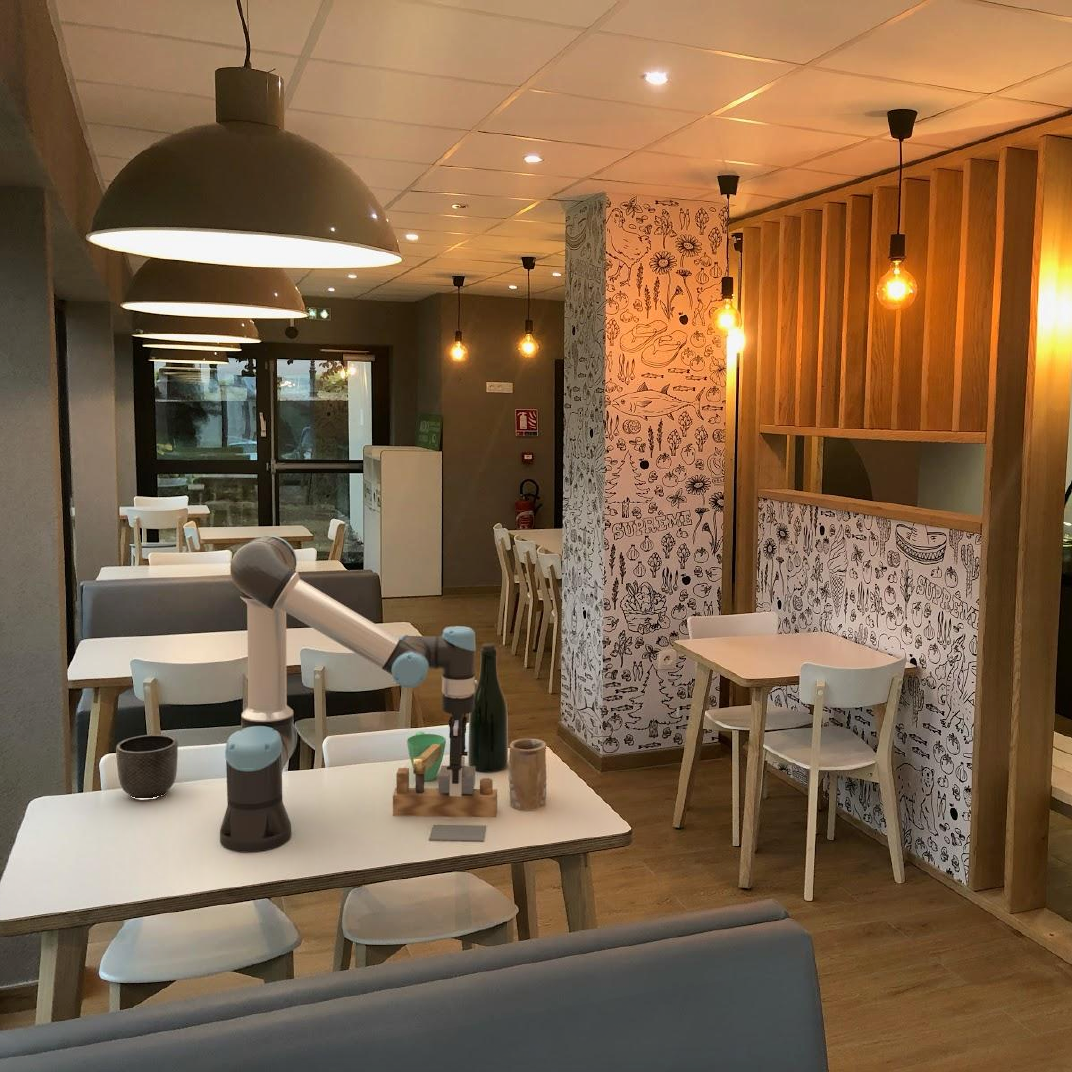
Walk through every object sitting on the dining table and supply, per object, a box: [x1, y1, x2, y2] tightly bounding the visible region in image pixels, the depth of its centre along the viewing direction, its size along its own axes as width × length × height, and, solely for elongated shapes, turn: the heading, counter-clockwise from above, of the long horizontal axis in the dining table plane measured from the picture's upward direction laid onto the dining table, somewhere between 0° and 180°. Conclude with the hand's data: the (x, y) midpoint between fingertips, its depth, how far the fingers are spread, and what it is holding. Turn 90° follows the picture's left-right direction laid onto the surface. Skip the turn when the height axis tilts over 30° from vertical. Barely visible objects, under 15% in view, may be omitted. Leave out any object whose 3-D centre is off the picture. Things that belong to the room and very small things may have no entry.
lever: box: [412, 744, 441, 775], centre depth 246 cm, size 14×3×3 cm, turn 166°
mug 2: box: [508, 738, 548, 811], centre depth 249 cm, size 9×13×15 cm
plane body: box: [392, 767, 498, 818], centre depth 241 cm, size 24×5×10 cm, turn 89°
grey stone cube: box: [437, 765, 477, 794], centre depth 241 cm, size 8×7×4 cm
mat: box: [428, 824, 487, 843], centre depth 230 cm, size 12×8×1 cm, turn 89°
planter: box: [115, 734, 179, 798], centre depth 250 cm, size 14×14×13 cm
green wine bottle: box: [467, 642, 509, 773], centre depth 272 cm, size 10×10×33 cm
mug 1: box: [406, 731, 447, 782], centre depth 266 cm, size 15×10×10 cm
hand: (457, 789), depth 241 cm, fingers closed on grey stone cube, 7 cm apart
